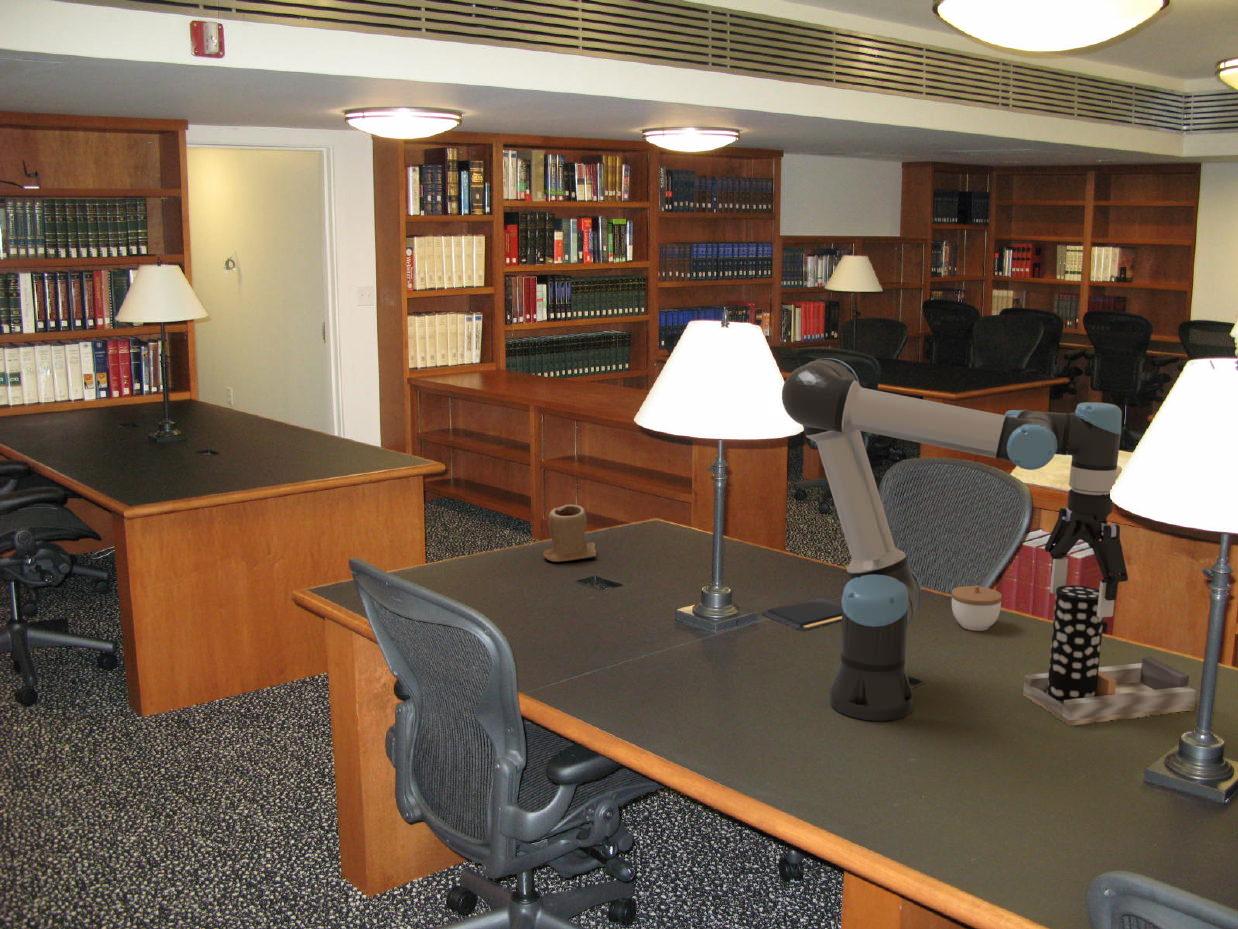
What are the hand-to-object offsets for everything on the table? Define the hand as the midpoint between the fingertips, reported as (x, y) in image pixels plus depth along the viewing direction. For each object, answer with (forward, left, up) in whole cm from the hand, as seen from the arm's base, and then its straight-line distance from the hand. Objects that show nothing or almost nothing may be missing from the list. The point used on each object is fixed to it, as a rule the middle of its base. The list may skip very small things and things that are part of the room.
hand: (1080, 604), depth 201 cm
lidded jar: (+6, +44, -20) cm, 49 cm away
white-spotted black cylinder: (-1, 0, -18) cm, 18 cm away
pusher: (+4, 0, -19) cm, 19 cm away
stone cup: (-71, +119, -20) cm, 140 cm away
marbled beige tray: (+7, 0, -20) cm, 21 cm away
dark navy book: (-26, +60, -21) cm, 69 cm away
